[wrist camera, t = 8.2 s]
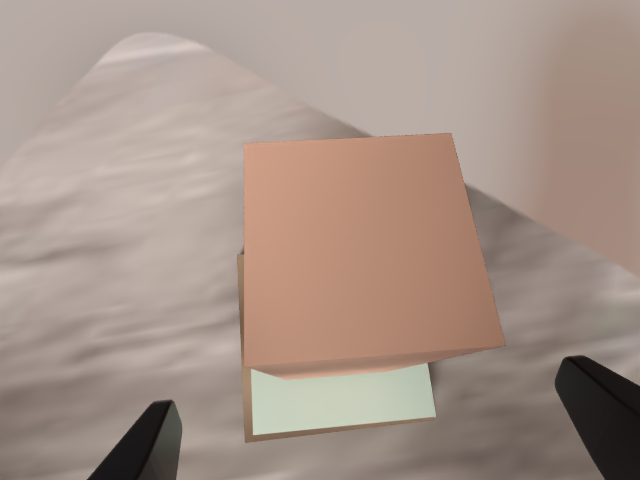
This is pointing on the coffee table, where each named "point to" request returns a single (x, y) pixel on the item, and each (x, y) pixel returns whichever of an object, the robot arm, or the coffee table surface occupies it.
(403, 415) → the tower top slab
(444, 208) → the tall block
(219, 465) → the coffee table surface
